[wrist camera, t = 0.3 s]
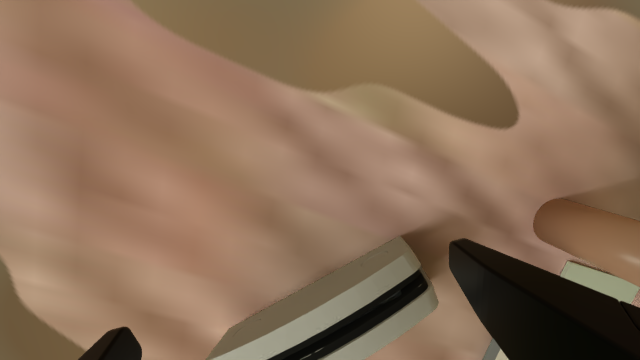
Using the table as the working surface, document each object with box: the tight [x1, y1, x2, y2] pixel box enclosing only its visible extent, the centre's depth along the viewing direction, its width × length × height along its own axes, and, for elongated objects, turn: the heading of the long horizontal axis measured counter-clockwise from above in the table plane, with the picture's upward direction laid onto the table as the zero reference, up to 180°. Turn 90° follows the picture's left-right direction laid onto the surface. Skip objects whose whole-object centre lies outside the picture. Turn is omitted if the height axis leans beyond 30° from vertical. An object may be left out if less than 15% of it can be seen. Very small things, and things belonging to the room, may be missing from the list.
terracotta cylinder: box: [533, 199, 640, 287], centre depth 22 cm, size 4×4×9 cm
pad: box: [560, 261, 640, 304], centre depth 28 cm, size 8×8×1 cm
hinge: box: [206, 236, 439, 360], centre depth 21 cm, size 17×5×10 cm, turn 118°
